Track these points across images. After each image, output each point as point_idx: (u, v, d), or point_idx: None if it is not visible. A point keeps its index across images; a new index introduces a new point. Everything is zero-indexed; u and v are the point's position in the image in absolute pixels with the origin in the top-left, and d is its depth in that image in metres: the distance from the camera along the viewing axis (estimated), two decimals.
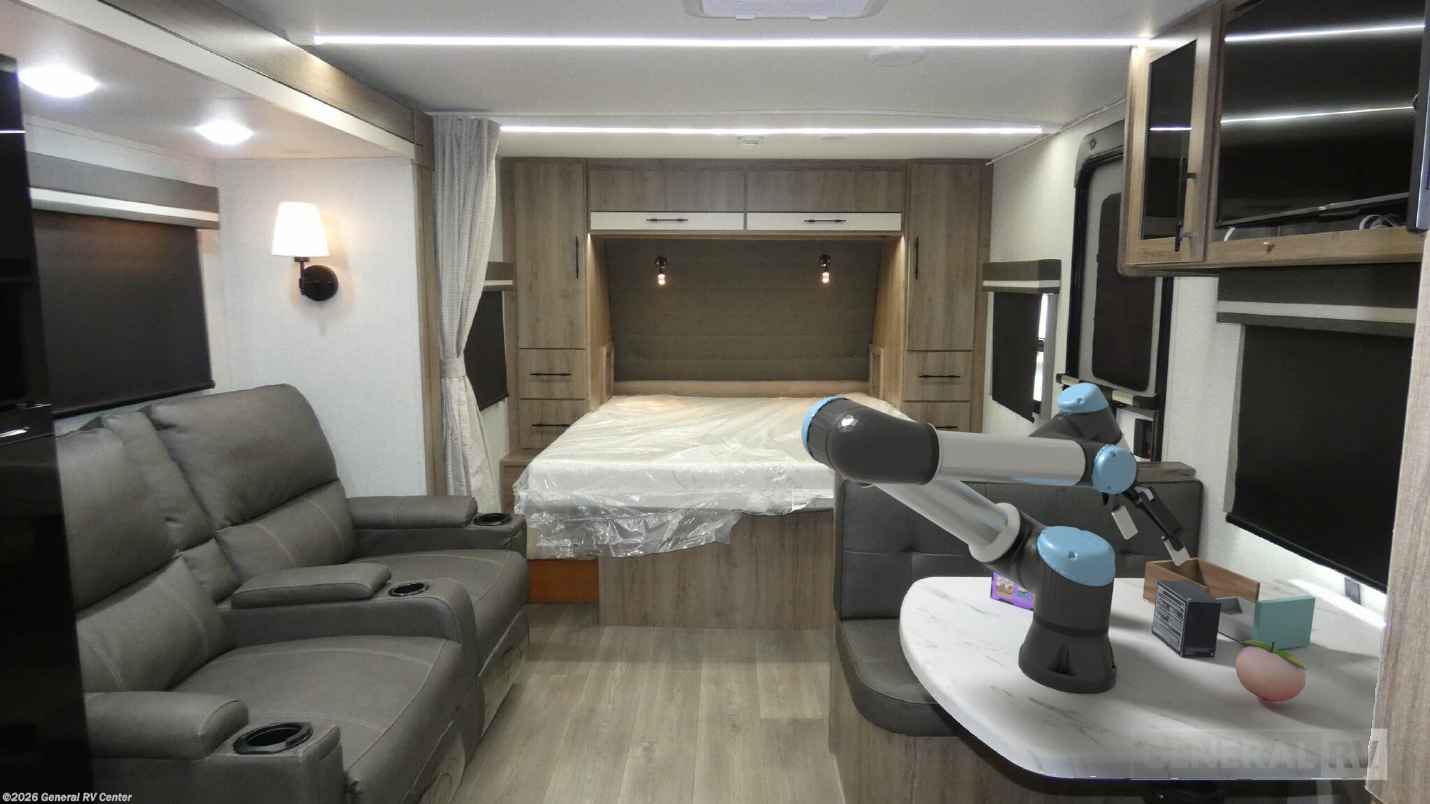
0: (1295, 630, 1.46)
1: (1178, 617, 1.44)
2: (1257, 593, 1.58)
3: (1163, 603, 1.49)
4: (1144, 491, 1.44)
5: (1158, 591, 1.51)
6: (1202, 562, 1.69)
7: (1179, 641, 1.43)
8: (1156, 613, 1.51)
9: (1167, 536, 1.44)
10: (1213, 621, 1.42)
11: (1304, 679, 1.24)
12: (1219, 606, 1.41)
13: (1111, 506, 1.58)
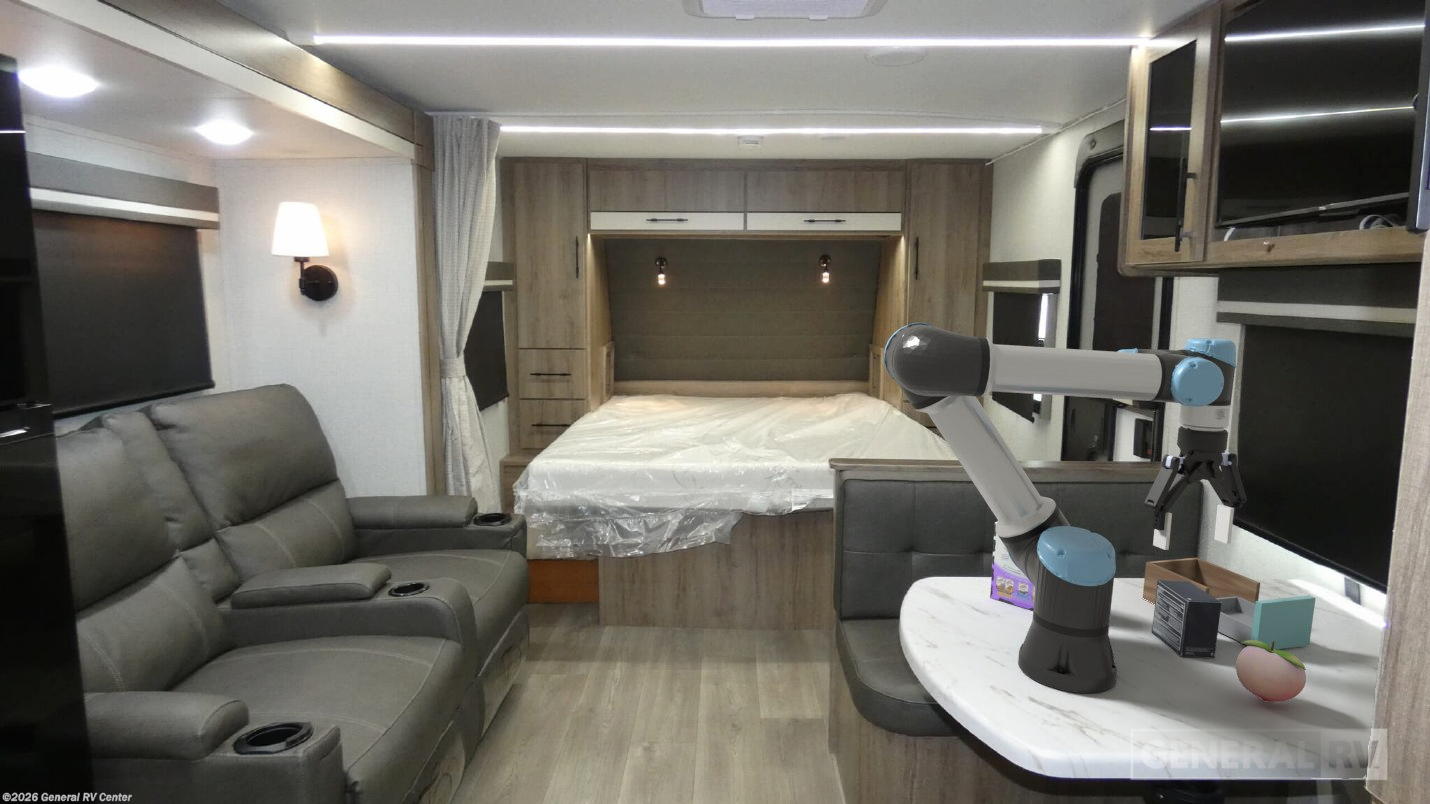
0: (1295, 630, 1.46)
1: (1178, 617, 1.44)
2: (1257, 593, 1.58)
3: (1163, 603, 1.49)
4: (1169, 455, 1.41)
5: (1158, 591, 1.51)
6: (1202, 562, 1.69)
7: (1179, 641, 1.43)
8: (1156, 613, 1.51)
9: None
10: (1213, 621, 1.42)
11: (1304, 679, 1.24)
12: (1219, 606, 1.41)
13: None
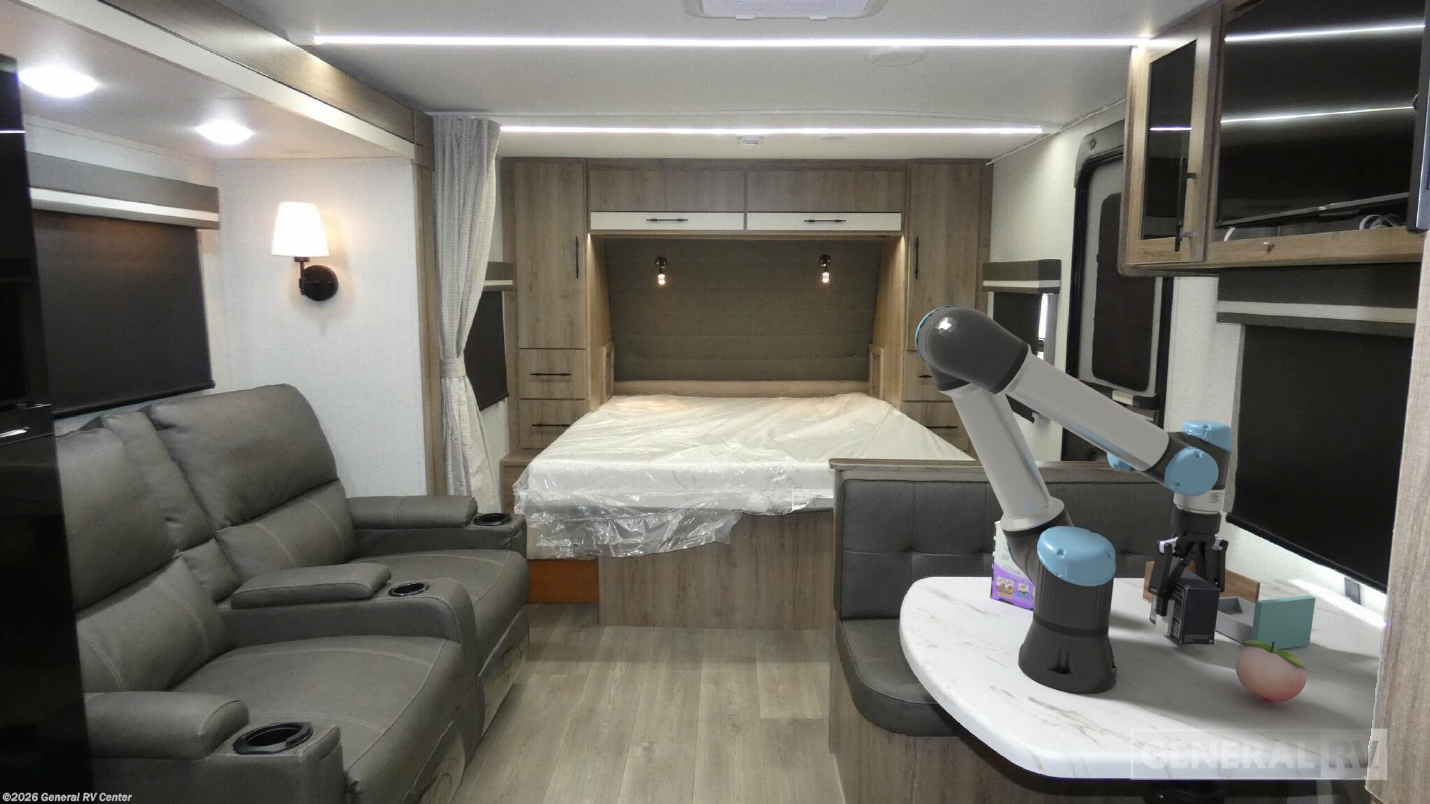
0: (1295, 630, 1.46)
1: (1177, 604, 1.43)
2: (1257, 593, 1.58)
3: None
4: (1161, 541, 1.43)
5: None
6: None
7: (1178, 628, 1.43)
8: (1154, 601, 1.51)
9: None
10: (1212, 608, 1.41)
11: (1304, 679, 1.24)
12: (1218, 593, 1.41)
13: None
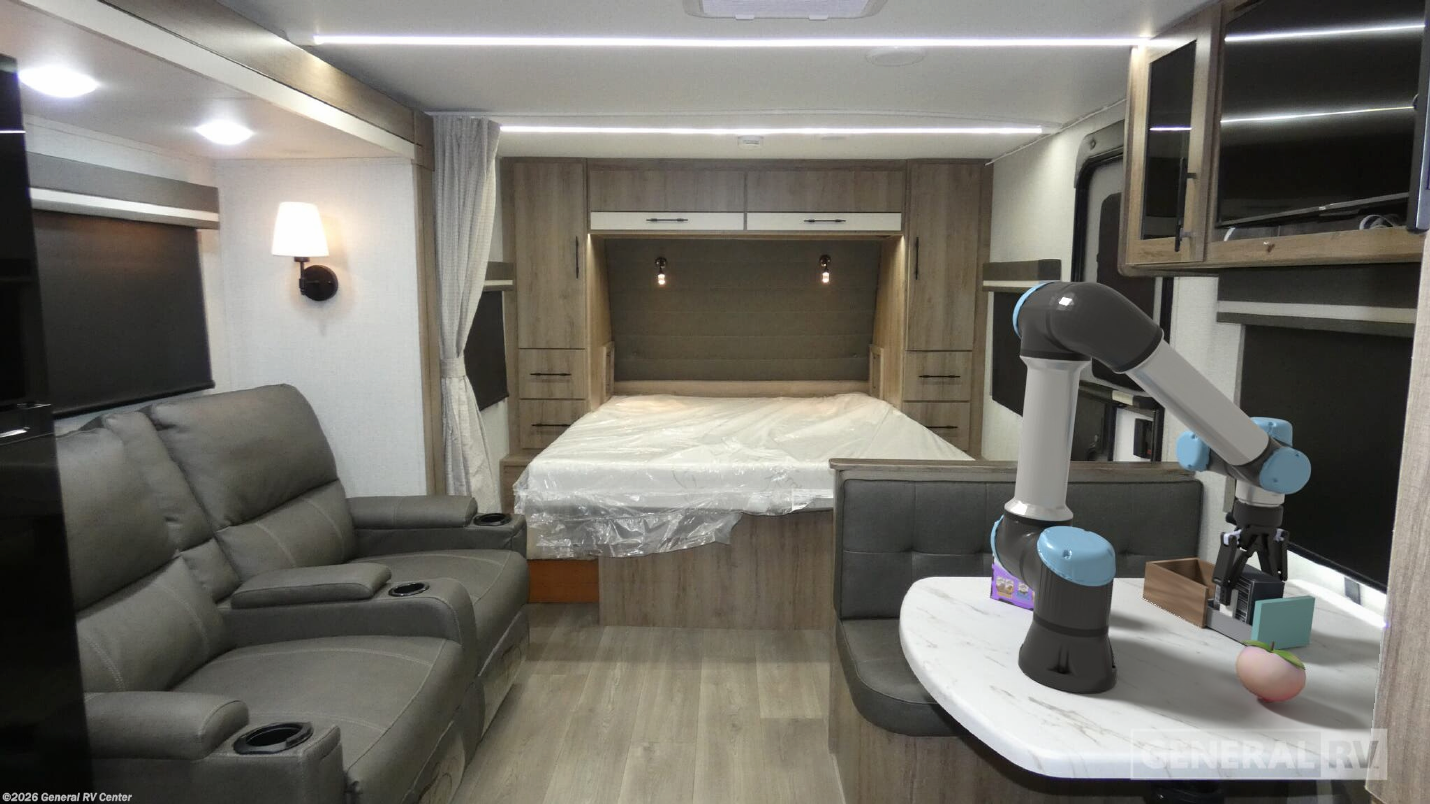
0: (1295, 630, 1.46)
1: (1243, 598, 1.49)
2: None
3: None
4: (1225, 534, 1.50)
5: None
6: (1202, 562, 1.69)
7: (1244, 620, 1.49)
8: (1217, 594, 1.57)
9: None
10: None
11: (1304, 679, 1.24)
12: (1283, 586, 1.47)
13: None
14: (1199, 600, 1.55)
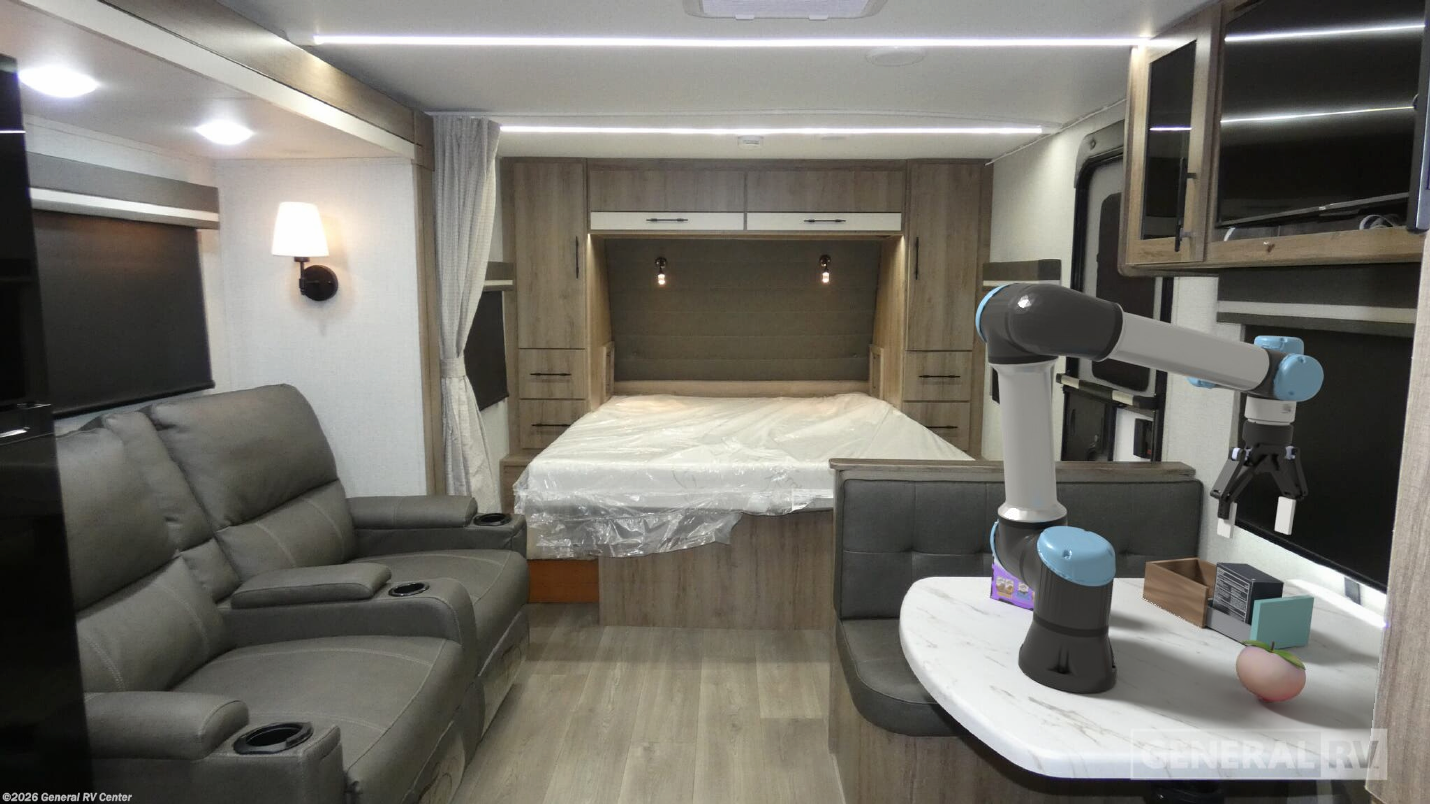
0: (1294, 629, 1.46)
1: (1242, 597, 1.50)
2: None
3: (1223, 584, 1.55)
4: (1235, 448, 1.47)
5: (1218, 573, 1.57)
6: (1202, 562, 1.69)
7: (1243, 620, 1.49)
8: (1216, 594, 1.57)
9: None
10: None
11: (1304, 679, 1.24)
12: (1282, 586, 1.47)
13: None
14: (1199, 600, 1.55)
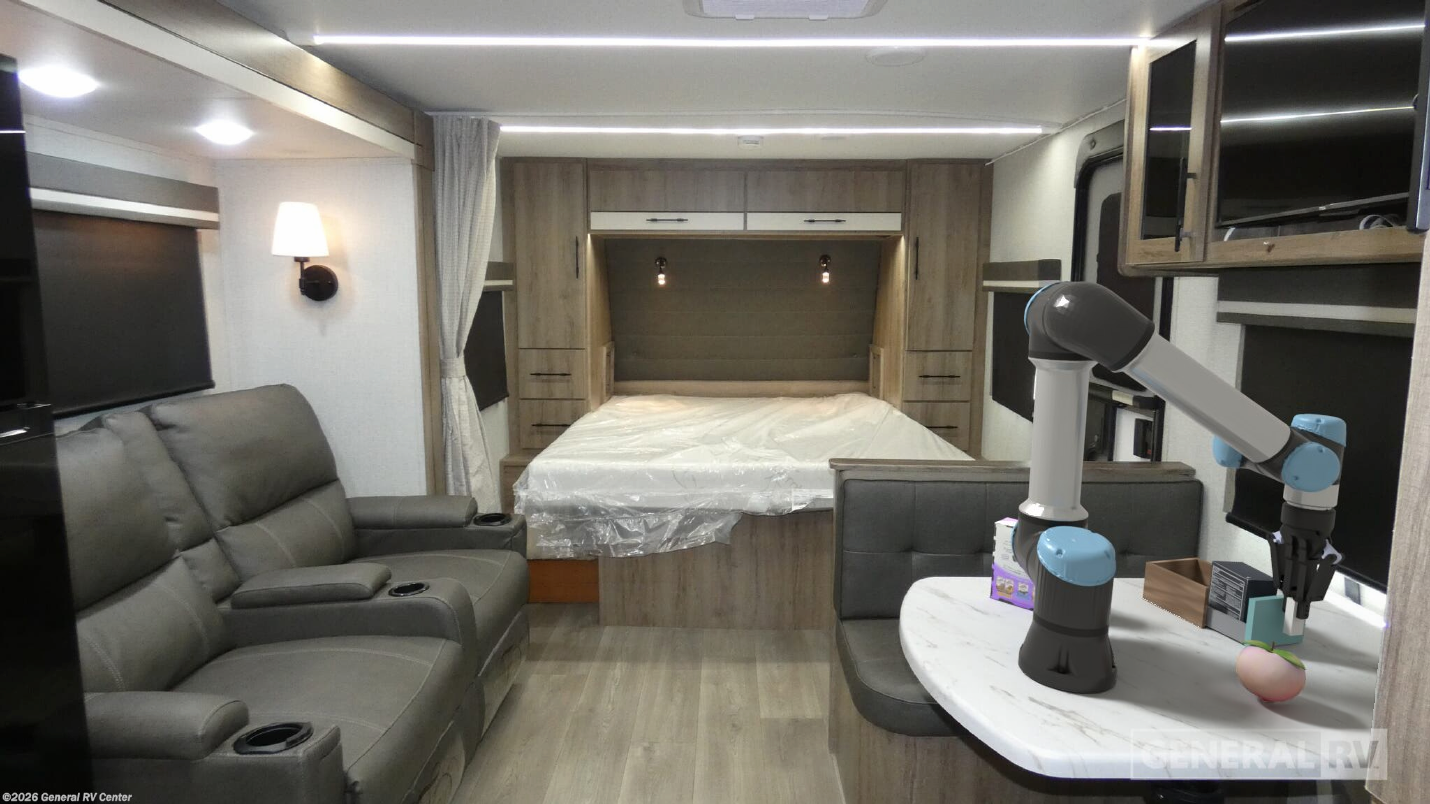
0: None
1: (1237, 595, 1.51)
2: None
3: (1219, 582, 1.56)
4: (1337, 556, 1.36)
5: (1213, 571, 1.58)
6: (1202, 562, 1.69)
7: (1238, 618, 1.50)
8: (1211, 592, 1.58)
9: (1302, 600, 1.41)
10: None
11: (1304, 679, 1.24)
12: None
13: (1288, 581, 1.43)
14: (1199, 600, 1.55)
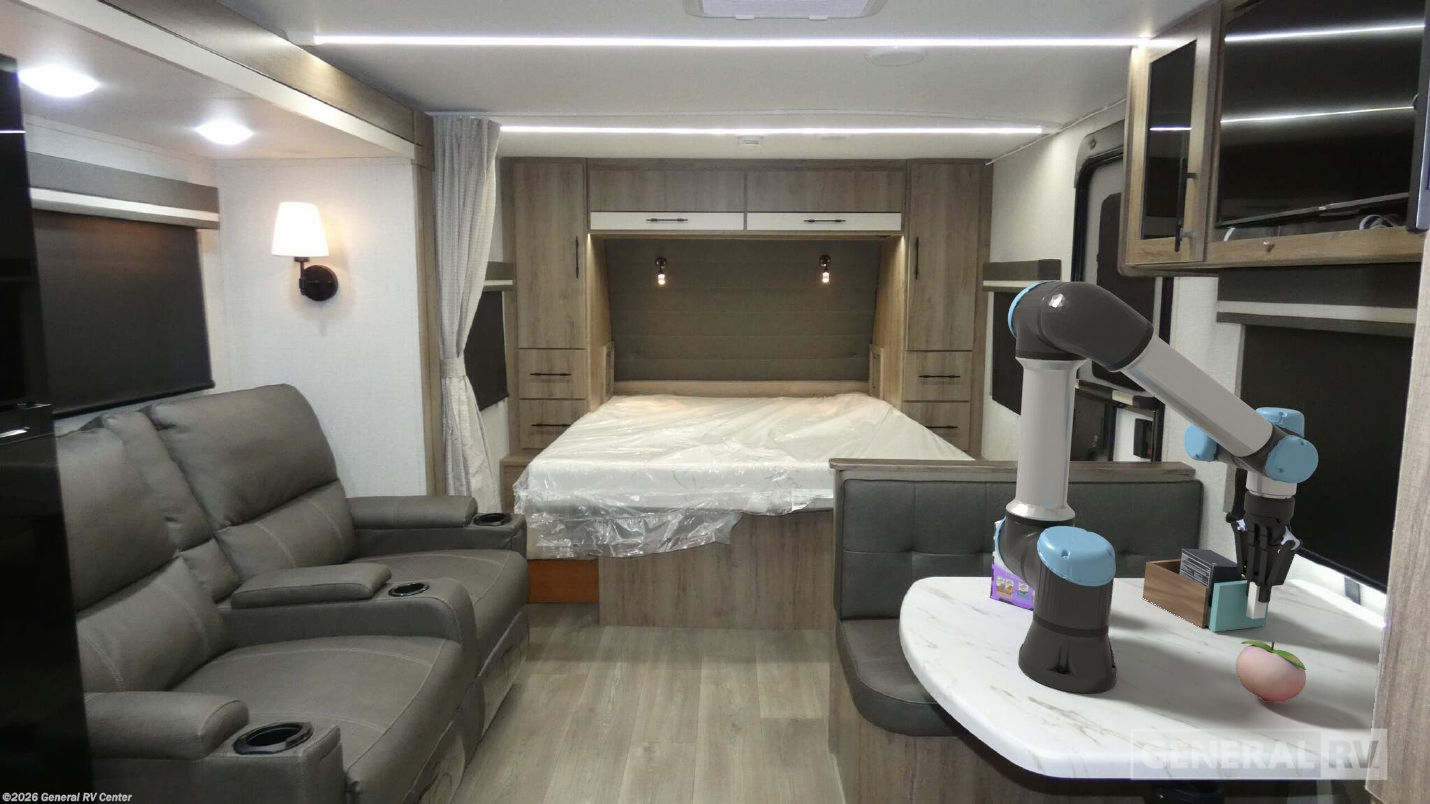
0: None
1: (1204, 581, 1.58)
2: None
3: (1187, 569, 1.63)
4: (1295, 542, 1.43)
5: (1182, 559, 1.65)
6: None
7: None
8: None
9: (1263, 584, 1.48)
10: None
11: (1304, 679, 1.24)
12: None
13: (1251, 567, 1.51)
14: (1199, 600, 1.55)
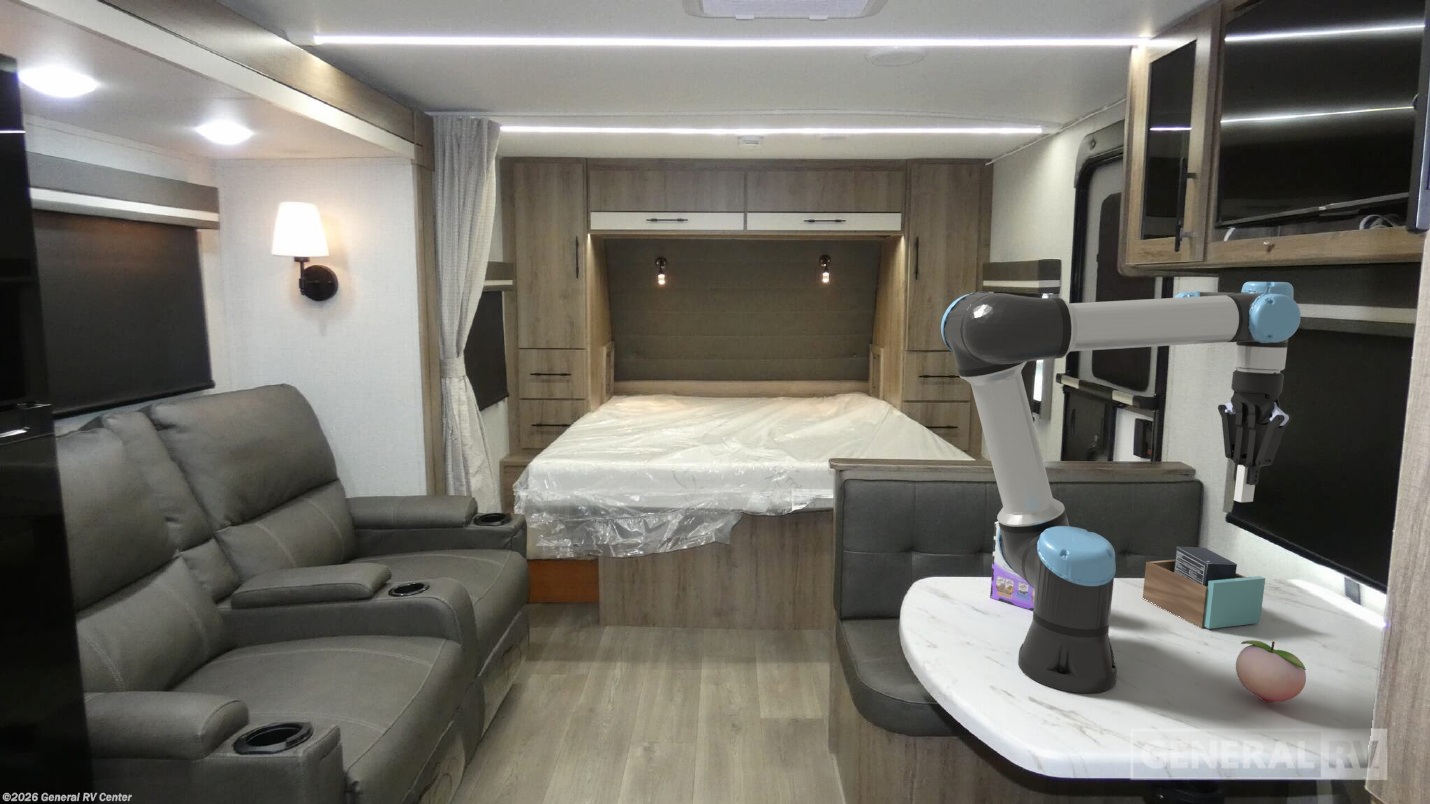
0: (1246, 608, 1.56)
1: (1198, 578, 1.59)
2: None
3: (1182, 567, 1.64)
4: (1284, 416, 1.38)
5: (1177, 556, 1.66)
6: None
7: None
8: None
9: (1251, 465, 1.43)
10: None
11: (1304, 679, 1.24)
12: (1235, 567, 1.57)
13: (1239, 449, 1.46)
14: (1199, 600, 1.55)
